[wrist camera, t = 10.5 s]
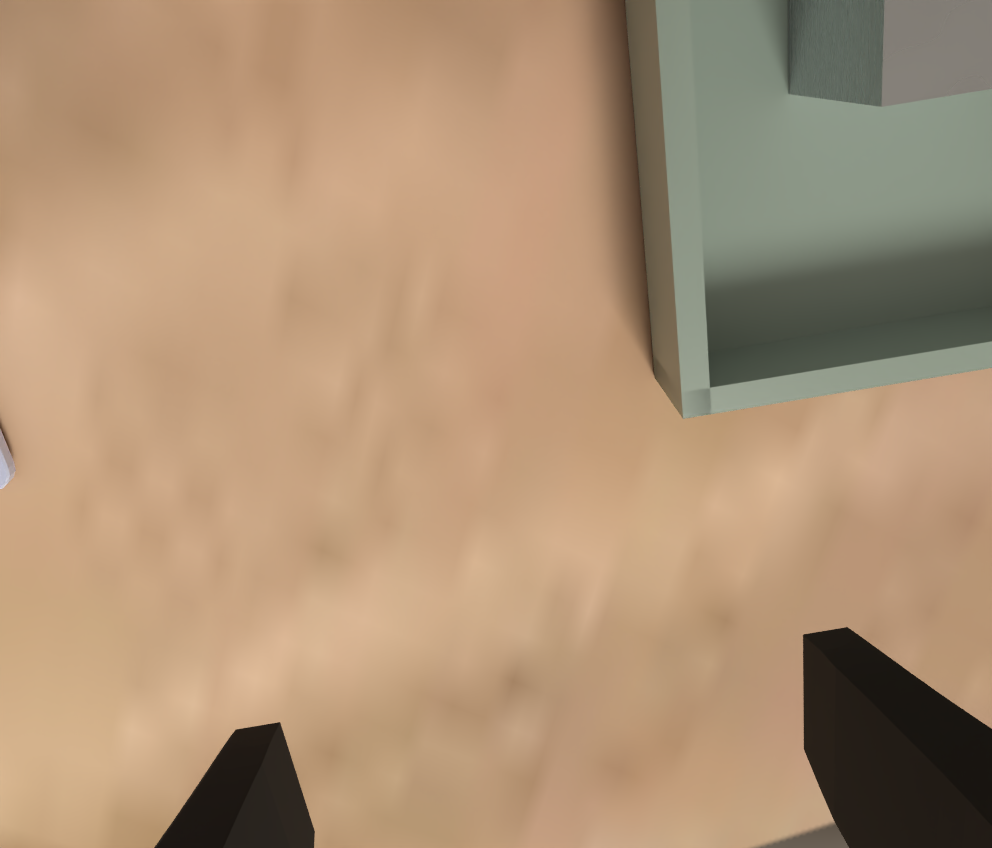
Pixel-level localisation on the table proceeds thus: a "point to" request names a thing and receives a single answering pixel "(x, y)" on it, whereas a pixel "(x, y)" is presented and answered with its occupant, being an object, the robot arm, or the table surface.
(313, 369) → the table surface
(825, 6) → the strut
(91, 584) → the table surface
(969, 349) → the bin tray
